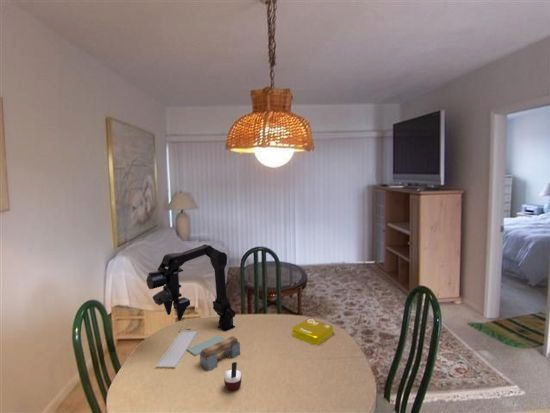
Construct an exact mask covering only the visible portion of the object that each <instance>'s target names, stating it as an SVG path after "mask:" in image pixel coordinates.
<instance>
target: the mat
mask: <svg viewBox="0 0 550 413" xmlns="http://www.w3.org/2000/svg"><path fill="white" fill-rule="evenodd" d="M225 339H226V338H224V337H222V336H220V335H215V336H214V337H210V338H209V339H206V340H204V341H202V342H200V343H198V344H194V345H193V346H191V347H190V346H189V347H188V349H187V351H186V352H188V353H190V354H191V353H192V355H194V356H195V357H197V356H200V352H201V351H202V350H203V349H206V348H208V347H210V346H212V345H214V344H216V343H219V342H221V341H223V340H225Z"/></svg>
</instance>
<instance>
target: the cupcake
mask: <svg viewBox="0 0 550 413" xmlns="http://www.w3.org/2000/svg"><path fill="white" fill-rule="evenodd" d="M237 366H238V362H237V361H234V362H232V363H231V369H228V370H225V371H224V374H223V376H224V379H223V380H224V382H223V383H224V385H225V387H226V388H227V390H229V391H234V390H235V391H236V390H238V389H240V387H241V383H242V372H241V371H239V370H238V368H237Z"/></svg>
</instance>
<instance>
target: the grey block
mask: <svg viewBox="0 0 550 413" xmlns="http://www.w3.org/2000/svg"><path fill="white" fill-rule="evenodd" d="M223 354H224V355H226V356H227V355H228V356H227V357H229V356H230V357H229V358H231V359H232V358H233V359H235V358H238V357H239V356H240V355H241V342H240V341H238V342H237V343H235V344H232V345H231V348H230V349H228V350H226V351H224V352H223ZM238 355H239V356H238Z"/></svg>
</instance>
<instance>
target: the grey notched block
mask: <svg viewBox="0 0 550 413" xmlns="http://www.w3.org/2000/svg"><path fill="white" fill-rule="evenodd" d="M199 361H200V363H199V364H200V366H201V367H202V368H203V369H205V370H207V371H208V372H210V371H213V370H214V369H216V368H218V355H217V353H214V354H212V355H209V356H207V360H205V359H204V358H202V351H201V352H200V354H199Z"/></svg>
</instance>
